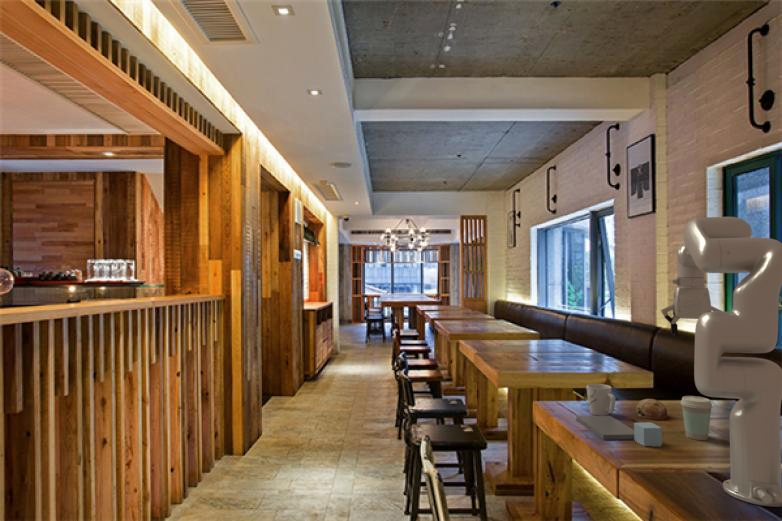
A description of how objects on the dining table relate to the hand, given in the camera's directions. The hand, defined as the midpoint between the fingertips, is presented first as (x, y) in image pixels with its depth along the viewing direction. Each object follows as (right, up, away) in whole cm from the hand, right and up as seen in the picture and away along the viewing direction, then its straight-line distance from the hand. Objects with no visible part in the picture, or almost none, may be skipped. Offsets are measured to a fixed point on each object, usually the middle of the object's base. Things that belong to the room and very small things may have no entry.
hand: (691, 336), depth 159 cm
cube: (-19, -31, -9) cm, 37 cm away
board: (-25, -31, +4) cm, 41 cm away
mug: (-20, -32, +21) cm, 43 cm away
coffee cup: (-1, -31, -4) cm, 31 cm away
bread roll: (-2, -32, +20) cm, 38 cm away
